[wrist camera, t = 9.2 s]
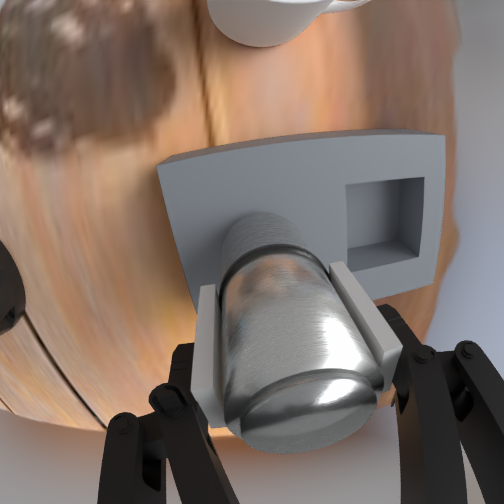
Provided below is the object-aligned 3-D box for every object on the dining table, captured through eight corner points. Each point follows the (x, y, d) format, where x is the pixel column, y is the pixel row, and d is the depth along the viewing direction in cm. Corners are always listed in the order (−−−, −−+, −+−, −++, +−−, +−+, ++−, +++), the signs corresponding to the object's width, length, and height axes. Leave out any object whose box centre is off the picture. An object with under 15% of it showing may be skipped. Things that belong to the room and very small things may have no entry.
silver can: (228, 295, 21) (238, 467, 9) (211, 219, 18) (196, 390, 7) (307, 280, 21) (377, 436, 9) (301, 204, 19) (412, 343, 7)
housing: (206, 294, 29) (203, 333, 24) (172, 155, 23) (156, 165, 18) (403, 256, 29) (432, 283, 24) (406, 128, 23) (444, 135, 18)
